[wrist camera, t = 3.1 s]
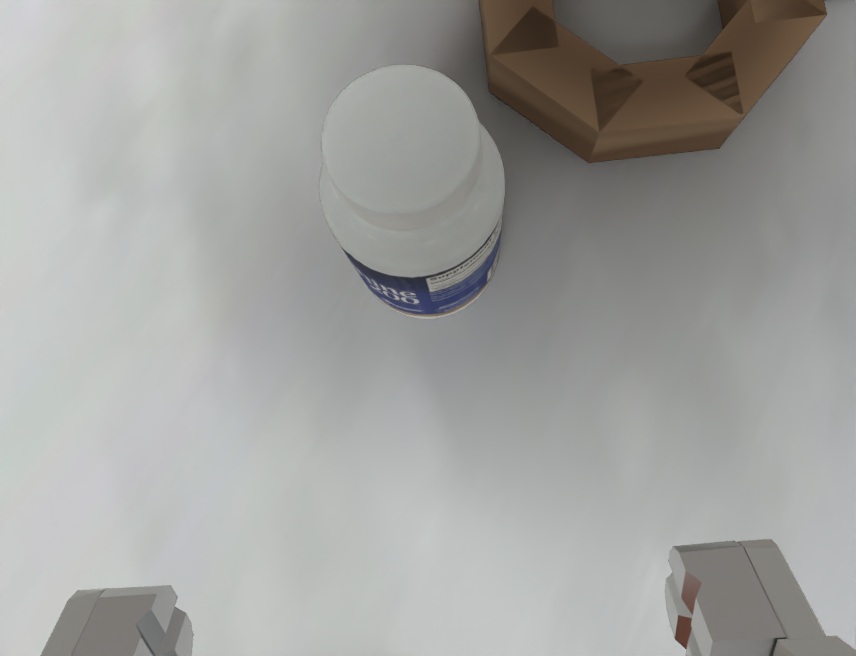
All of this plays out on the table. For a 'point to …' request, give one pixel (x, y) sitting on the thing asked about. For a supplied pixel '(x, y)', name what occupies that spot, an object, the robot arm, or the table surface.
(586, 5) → the table surface
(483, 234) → the pill bottle
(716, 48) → the walnut ring
